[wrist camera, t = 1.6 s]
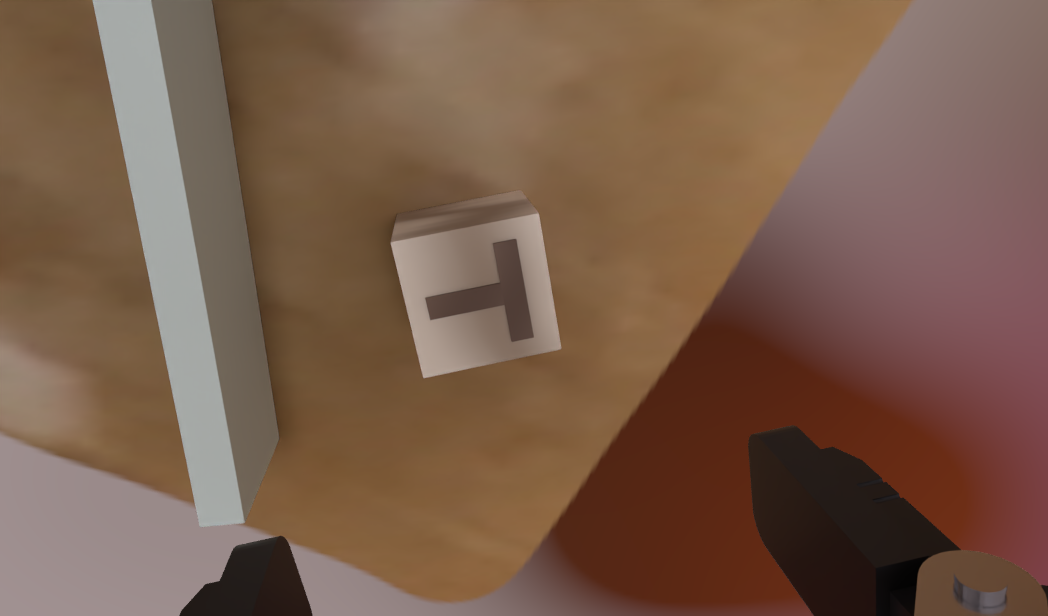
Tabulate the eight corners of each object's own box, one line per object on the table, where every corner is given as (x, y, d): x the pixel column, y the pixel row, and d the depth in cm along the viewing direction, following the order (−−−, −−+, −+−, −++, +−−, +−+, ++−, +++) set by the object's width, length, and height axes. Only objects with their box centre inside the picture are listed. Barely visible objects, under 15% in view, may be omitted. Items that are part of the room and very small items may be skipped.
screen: (243, 441, 30) (199, 527, 25) (162, -22, 24) (82, -50, 19) (279, 438, 30) (244, 523, 25) (208, -23, 25) (141, -51, 19)
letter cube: (424, 329, 30) (423, 379, 25) (397, 213, 28) (390, 243, 23) (540, 305, 30) (561, 350, 25) (520, 189, 28) (539, 213, 24)
